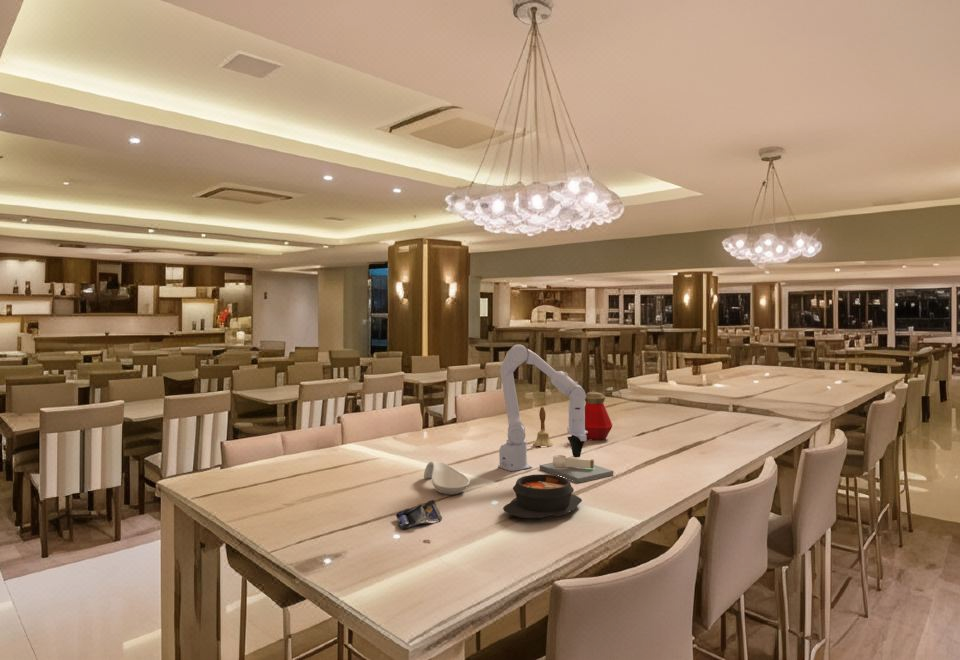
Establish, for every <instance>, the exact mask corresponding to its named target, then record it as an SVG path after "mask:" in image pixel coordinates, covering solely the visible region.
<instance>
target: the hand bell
mask: <svg viewBox="0 0 960 660" xmlns="http://www.w3.org/2000/svg"><path fill="white" fill-rule="evenodd" d="M538 413H539V419H540V431H537V436H536V440H535V441H534V442H533V443H532V445H533V446H534V445H535V446H534V447H536V446H550V447H553V446H554V445H553V442H552V441H551V439H550V435H549V431H547V430H546V426H545V421H546V415H547V414H546V410H545V408H544V407H543V406H542V407H540V410H539V412H538ZM552 445H553V446H552Z"/></svg>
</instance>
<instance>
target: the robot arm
mask: <svg viewBox="0 0 960 660" xmlns="http://www.w3.org/2000/svg"><path fill="white" fill-rule="evenodd" d="M523 363H526V364H527V365H533V366H535V368H538V369H539V370H540V371H541V372H542V373H544V374H545V375H547V376H548V377H549V378H550V380H551V381H550V382H551V384H552V385H553V386H554V387H555V388H557V389H558V390H559V391H560V392H561V393H563V395H567V397H568V398H569V401H568V404H569V405H568V427H567V428H566V429H567V430H566V431H567V434H568V435H569V436H567V440H568V442H569V444H570V445H569V446H570V449H571V452H572V456H573V457H572V458H581V454H582V450H583V448H584V444H585V443H586V442H587V440H588V439H587V436H586V435H585V434H586V433H588V431H586V430H585V404H586V401H585V398H586V394H587V393H586V392H585V391H586V390H585V389H584V388H583V387H582V386H581V385H580V384H579V382H578V381H577V380H576V381H575V380H574V379H572V378H571V377H570V376H569V374H568V372H567V371H563V370H558V371H557V370H556V369H554V368H553V367H552V366H551V365H550V364H548V363H547V362H546V361H545V360H544V359H542V357H541V356H539V355H538V354H537V353H535V352H534V351H532V350H531V349H529V348H526V346H524V345H523V344H520V343H519V344H514V345H513V346H512V347H510V349H509V350H508V351H507V352H506V355H505V357H504V359H503V361H502V363H501V366H500V368H499V373H500V379H501V384H502V391H503V397H504V403H505V409H506V416H507V423H508V428H507V440H506V443H504V444H502V445H501V446H500V447H499V451H498V452H499V454H498V455H499V465H498V468H501V469H504V470H506V471H509V472H515V471H520V470H527V469H530V468H533V466H532V465H529V464H528V463H527V460H528V459H527V456H528V455H527V448H528V447H527V446H528V443H527V440H526V427H525V426H524V424H523V423H522V420H521V418H522V417H521V414H520V409H519V401H518V396H517V389H516V382H515V378H514V376H515V375H514V372H515V371H516V369H518V366H520V365H522V364H523ZM570 435H571V436H570Z"/></svg>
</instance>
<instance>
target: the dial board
mask: <svg viewBox="0 0 960 660" xmlns="http://www.w3.org/2000/svg"><path fill="white" fill-rule="evenodd" d="M540 469H542V470H541V471H543V470H544V471H543V472H546V471H547V473H549V472H550V473H549V474H552V473H553V474H552V475H554V474H556V475H555V476H557V475H559V476H562V477H565V478H567V480H569V479H570V480H569V481H571V480H573V481H572V482H574V481H575V483H577V482H578V483H577V484H579V482H580V483H584V482H583V481H585V482H588V480H589V481H594V480H597V479H602V478H607V477H612V476H614V470H613V469H609V468H606V467H603V466H599V465H596V464H594V468H579V467H554V466H553V462H550V463H549V462H548V463H545V464H539V470H540ZM593 479H594V480H593Z"/></svg>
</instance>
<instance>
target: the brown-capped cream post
mask: <svg viewBox="0 0 960 660" xmlns="http://www.w3.org/2000/svg"><path fill="white" fill-rule="evenodd" d="M552 463H553V466H554V467H579V468H594V465H595V459H592V458H591V459H590V458H578V457H566V456H565V455H562V454H556V455H553V456H552Z"/></svg>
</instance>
